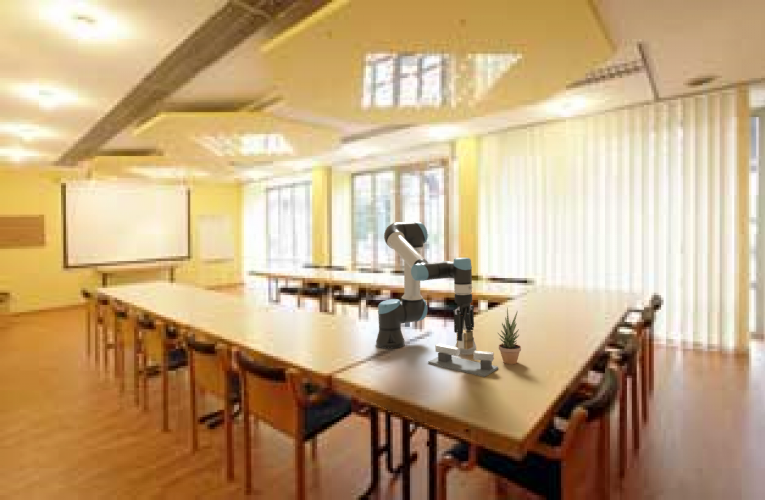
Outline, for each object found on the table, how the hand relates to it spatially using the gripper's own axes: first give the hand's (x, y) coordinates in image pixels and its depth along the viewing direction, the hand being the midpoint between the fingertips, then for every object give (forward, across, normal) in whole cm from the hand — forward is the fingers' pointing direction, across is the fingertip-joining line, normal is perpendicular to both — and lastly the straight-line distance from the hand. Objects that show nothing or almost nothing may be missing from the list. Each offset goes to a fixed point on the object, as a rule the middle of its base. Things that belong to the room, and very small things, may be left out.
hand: (464, 346), depth 179 cm
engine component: (+9, +20, +12) cm, 25 cm away
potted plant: (+9, +17, -12) cm, 23 cm away
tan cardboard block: (0, 0, 0) cm, 0 cm away
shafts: (+5, +1, +1) cm, 5 cm away
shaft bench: (+9, 0, +2) cm, 9 cm away
